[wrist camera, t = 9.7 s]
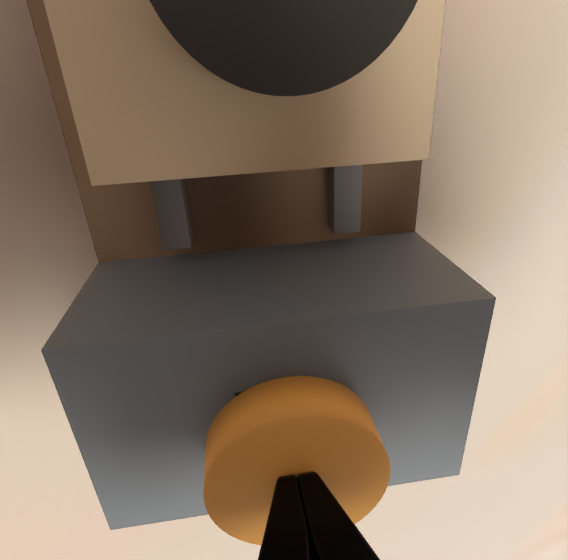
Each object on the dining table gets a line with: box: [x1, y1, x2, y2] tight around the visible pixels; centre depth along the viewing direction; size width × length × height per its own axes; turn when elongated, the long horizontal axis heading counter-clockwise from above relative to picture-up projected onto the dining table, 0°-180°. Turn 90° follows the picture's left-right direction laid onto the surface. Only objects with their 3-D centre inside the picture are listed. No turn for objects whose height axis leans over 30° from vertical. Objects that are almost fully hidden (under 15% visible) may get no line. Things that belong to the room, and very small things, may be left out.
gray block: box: [41, 232, 496, 530], centre depth 13 cm, size 10×6×6 cm, turn 93°
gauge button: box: [203, 376, 390, 545], centre depth 11 cm, size 4×4×4 cm
